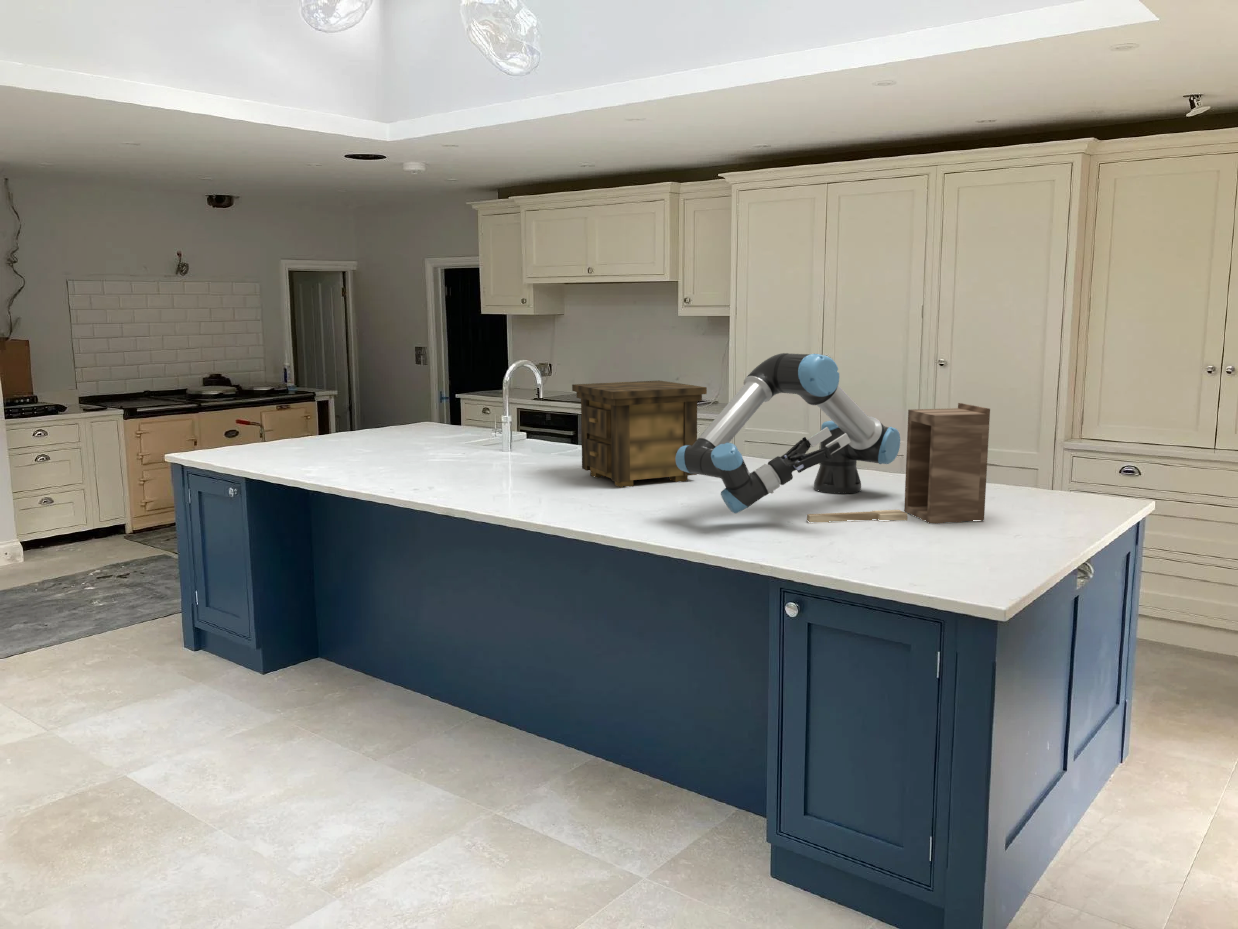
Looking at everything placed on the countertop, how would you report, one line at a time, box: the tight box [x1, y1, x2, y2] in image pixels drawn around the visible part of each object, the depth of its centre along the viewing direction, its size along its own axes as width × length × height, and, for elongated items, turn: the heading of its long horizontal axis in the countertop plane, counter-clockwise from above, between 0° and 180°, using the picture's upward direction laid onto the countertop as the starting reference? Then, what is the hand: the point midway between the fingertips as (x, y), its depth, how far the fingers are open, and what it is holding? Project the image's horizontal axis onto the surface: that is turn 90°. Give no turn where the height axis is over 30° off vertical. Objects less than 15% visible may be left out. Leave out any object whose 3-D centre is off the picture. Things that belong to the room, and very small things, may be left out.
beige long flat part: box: [806, 509, 909, 523], centre depth 269 cm, size 6×28×2 cm, turn 99°
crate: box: [571, 380, 708, 488], centre depth 336 cm, size 35×35×33 cm
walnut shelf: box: [903, 402, 991, 524], centre depth 271 cm, size 16×16×32 cm
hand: (838, 434), depth 264 cm, fingers open, 13 cm apart
